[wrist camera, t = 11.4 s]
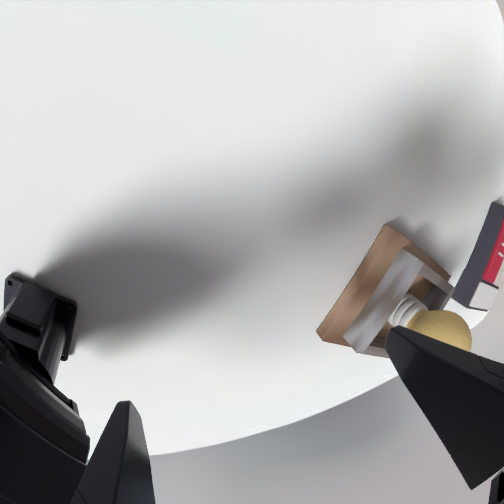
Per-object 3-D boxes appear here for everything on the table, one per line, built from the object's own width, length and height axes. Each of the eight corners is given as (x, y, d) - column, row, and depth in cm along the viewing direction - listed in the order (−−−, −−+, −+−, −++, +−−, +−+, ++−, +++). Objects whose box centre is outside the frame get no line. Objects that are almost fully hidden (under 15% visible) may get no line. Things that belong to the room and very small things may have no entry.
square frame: (389, 348, 33) (407, 367, 30) (315, 331, 27) (335, 358, 24) (442, 270, 30) (465, 285, 27) (384, 223, 24) (415, 240, 21)
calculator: (524, 230, 31) (490, 314, 35) (505, 221, 34) (473, 302, 38) (510, 208, 26) (469, 310, 30) (486, 199, 30) (448, 296, 34)
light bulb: (401, 269, 25) (477, 328, 17) (425, 290, 28) (488, 341, 20) (362, 322, 27) (425, 392, 18) (392, 335, 30) (446, 393, 21)
